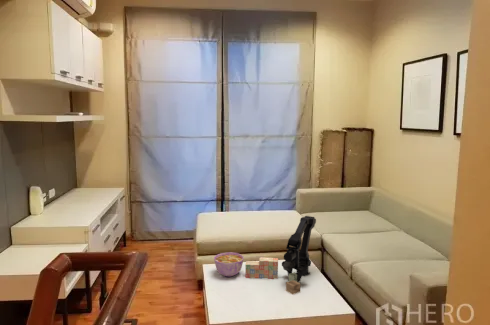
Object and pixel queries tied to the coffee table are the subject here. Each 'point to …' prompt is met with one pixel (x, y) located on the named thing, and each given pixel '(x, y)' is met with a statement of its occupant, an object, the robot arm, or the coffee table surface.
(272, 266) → the stack of blocks
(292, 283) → the walnut base
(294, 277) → the sage cube
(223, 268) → the bowl of food
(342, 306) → the coffee table surface
